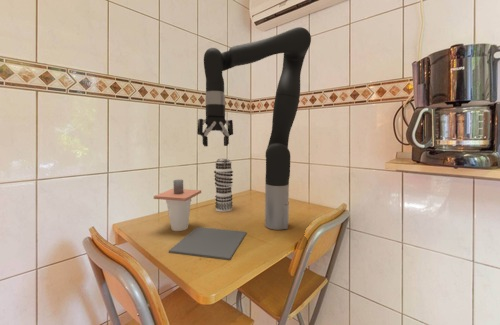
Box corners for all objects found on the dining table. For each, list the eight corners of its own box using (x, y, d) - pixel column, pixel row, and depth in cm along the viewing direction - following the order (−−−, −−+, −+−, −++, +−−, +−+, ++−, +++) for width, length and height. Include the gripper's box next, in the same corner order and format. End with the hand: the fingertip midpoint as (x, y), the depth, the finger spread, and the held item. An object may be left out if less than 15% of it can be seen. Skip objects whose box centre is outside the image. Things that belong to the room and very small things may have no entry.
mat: (246, 233, 89) (246, 231, 89) (230, 260, 70) (230, 258, 70) (197, 228, 94) (197, 226, 93) (168, 252, 74) (168, 250, 74)
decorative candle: (225, 213, 112) (225, 160, 109) (210, 210, 117) (209, 159, 114) (236, 208, 120) (236, 158, 117) (222, 205, 125) (221, 157, 122)
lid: (201, 192, 98) (201, 178, 97) (185, 201, 85) (185, 184, 84) (172, 191, 101) (172, 176, 100) (153, 198, 88) (153, 182, 87)
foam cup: (196, 224, 97) (195, 193, 96) (184, 233, 88) (183, 199, 87) (175, 222, 100) (174, 192, 98) (162, 230, 91) (160, 197, 90)
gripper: (227, 106, 100) (227, 145, 101) (194, 104, 92) (195, 146, 94) (236, 104, 93) (236, 146, 95) (201, 101, 86) (202, 146, 88)
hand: (215, 146), depth 94 cm, fingers open, 8 cm apart
